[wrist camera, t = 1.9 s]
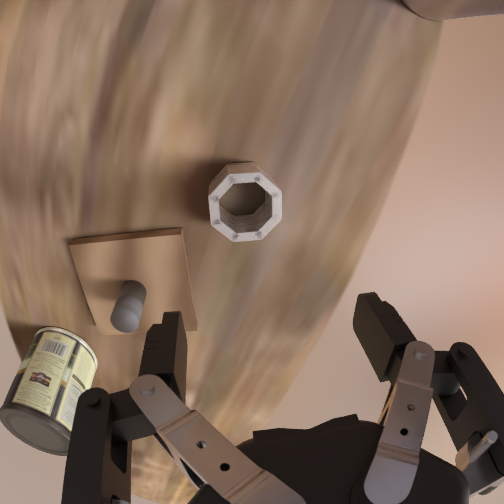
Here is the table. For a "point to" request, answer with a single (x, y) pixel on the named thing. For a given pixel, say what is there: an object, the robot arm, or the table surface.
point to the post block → (135, 279)
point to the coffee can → (49, 390)
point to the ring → (245, 224)
